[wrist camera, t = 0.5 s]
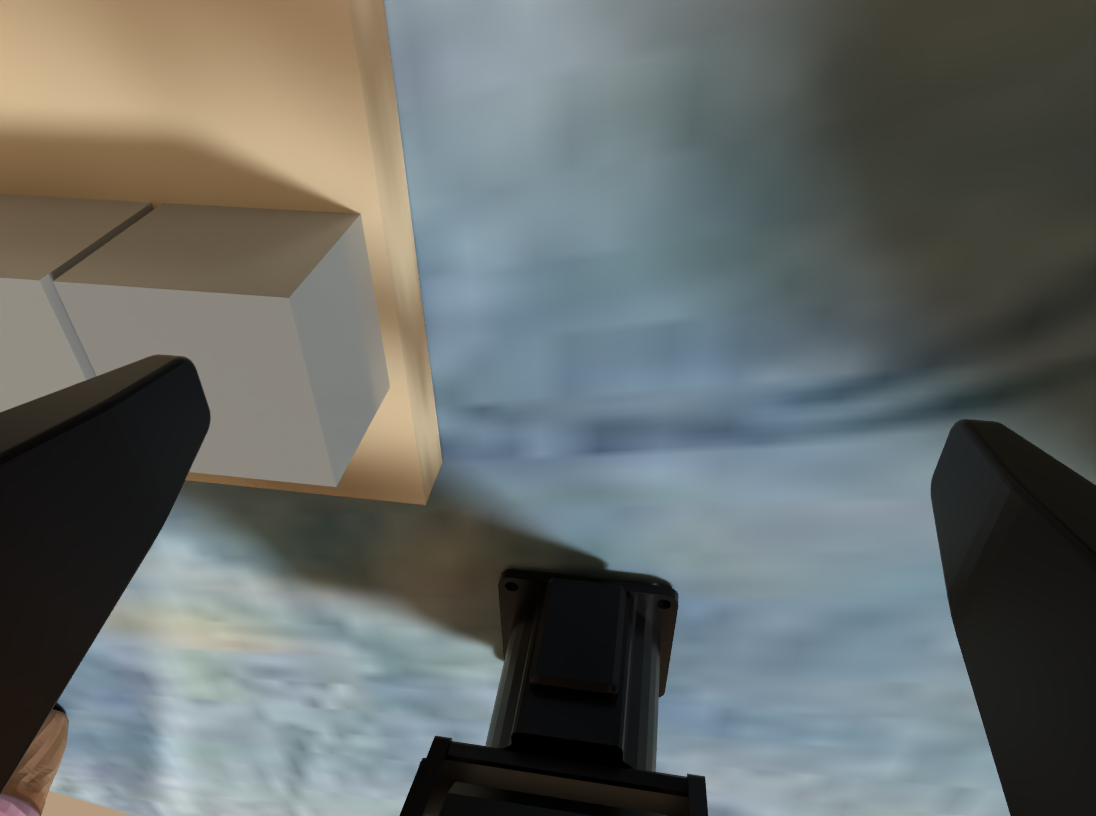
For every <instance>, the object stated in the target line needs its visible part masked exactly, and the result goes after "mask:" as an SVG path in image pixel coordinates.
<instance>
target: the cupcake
mask: <svg viewBox="0 0 1096 816" xmlns="http://www.w3.org/2000/svg"><path fill="white" fill-rule="evenodd" d="M68 722H69V720H68V718H67V716H66V714H65V713H63V712H61V711H57V710H53V709H52V711H51V712H50V714H49V716H48V717H47V719H46V720H45V722H44V724H43V725H42V727H41V729H40V730H39V732H38V734H37V735H36V737H35V739H34V740H33V742H32V743H31V745H30V747H29V748H28V750H27V752H26V753H25V755H24V757H23V758H22V760H21V762H20V763H19V765H18V766H17V768H16V770H15V771H14V773H13V775H12V776H11V778H10V780H9V781H8V783H7V785H6V786H5V788H4V789H3V791H2V793H1V794H0V816H41V814H42V811H43V808H44V804H45V800H46V797H47V795H48V792H49V789H50V786H51V784H52V782H53V779H54V777H55V775H56V773H57V770H58V768H59V765H60V762H61V760H62V757H63V754H64V751H65V747H66V743H67V735H68Z"/></svg>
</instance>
